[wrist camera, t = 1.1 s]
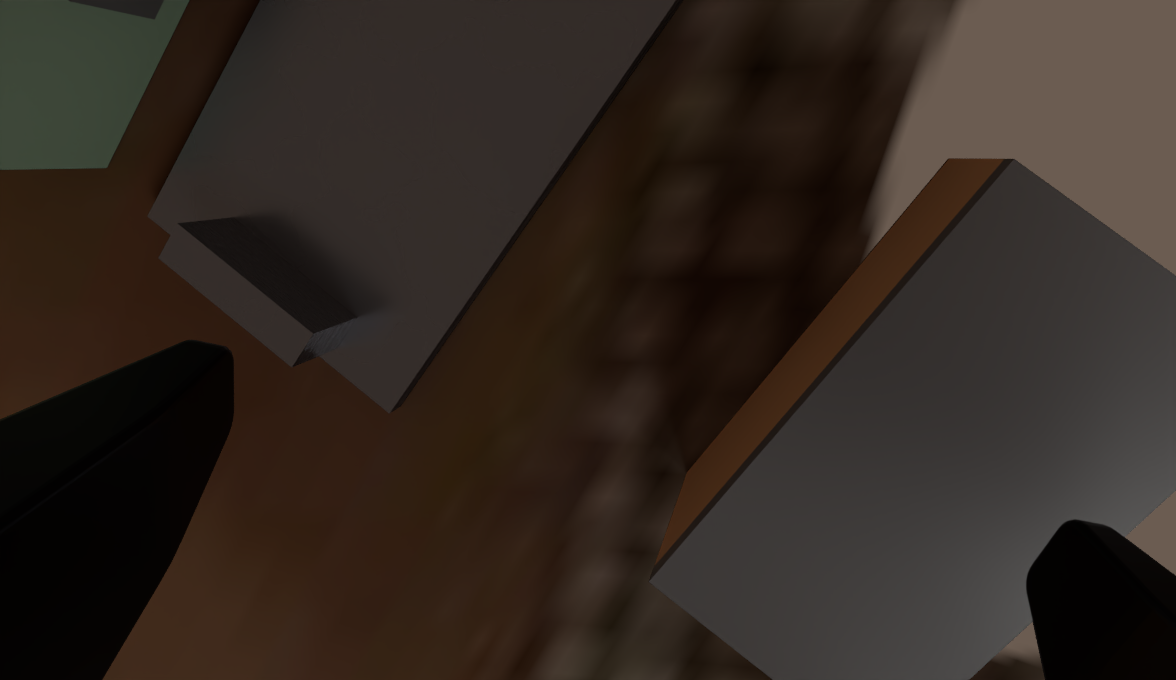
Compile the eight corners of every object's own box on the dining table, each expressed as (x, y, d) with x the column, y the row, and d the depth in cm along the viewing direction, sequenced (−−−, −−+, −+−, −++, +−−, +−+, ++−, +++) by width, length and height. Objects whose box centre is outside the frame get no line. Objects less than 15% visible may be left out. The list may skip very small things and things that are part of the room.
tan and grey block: (1149, 304, 17) (1306, 370, 12) (856, 601, 20) (878, 763, 15) (948, 158, 18) (1014, 158, 12) (687, 470, 20) (648, 581, 15)
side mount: (813, -188, 17) (816, -248, 14) (400, 406, 22) (348, 439, 19) (499, -419, 17) (448, -515, 15) (164, 214, 22) (84, 221, 20)
